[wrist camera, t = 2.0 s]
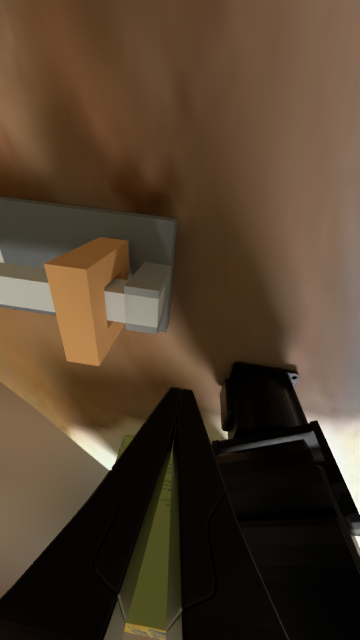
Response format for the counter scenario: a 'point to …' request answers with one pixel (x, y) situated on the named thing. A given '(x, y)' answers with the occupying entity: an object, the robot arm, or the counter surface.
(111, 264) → the collar
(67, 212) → the pipe rig
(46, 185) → the counter surface
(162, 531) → the protein box
